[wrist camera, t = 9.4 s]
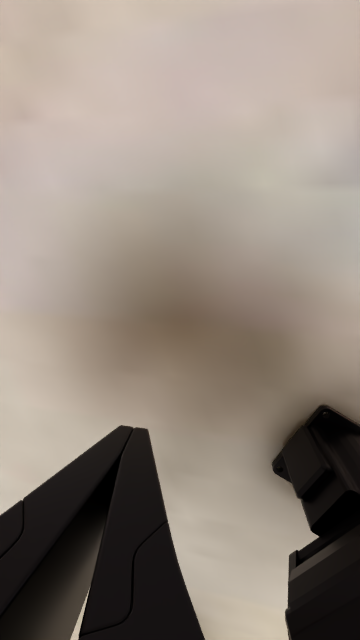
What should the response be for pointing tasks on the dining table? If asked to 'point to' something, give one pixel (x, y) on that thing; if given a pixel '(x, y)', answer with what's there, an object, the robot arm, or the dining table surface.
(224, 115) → the dining table surface
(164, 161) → the dining table surface
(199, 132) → the dining table surface
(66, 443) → the dining table surface
